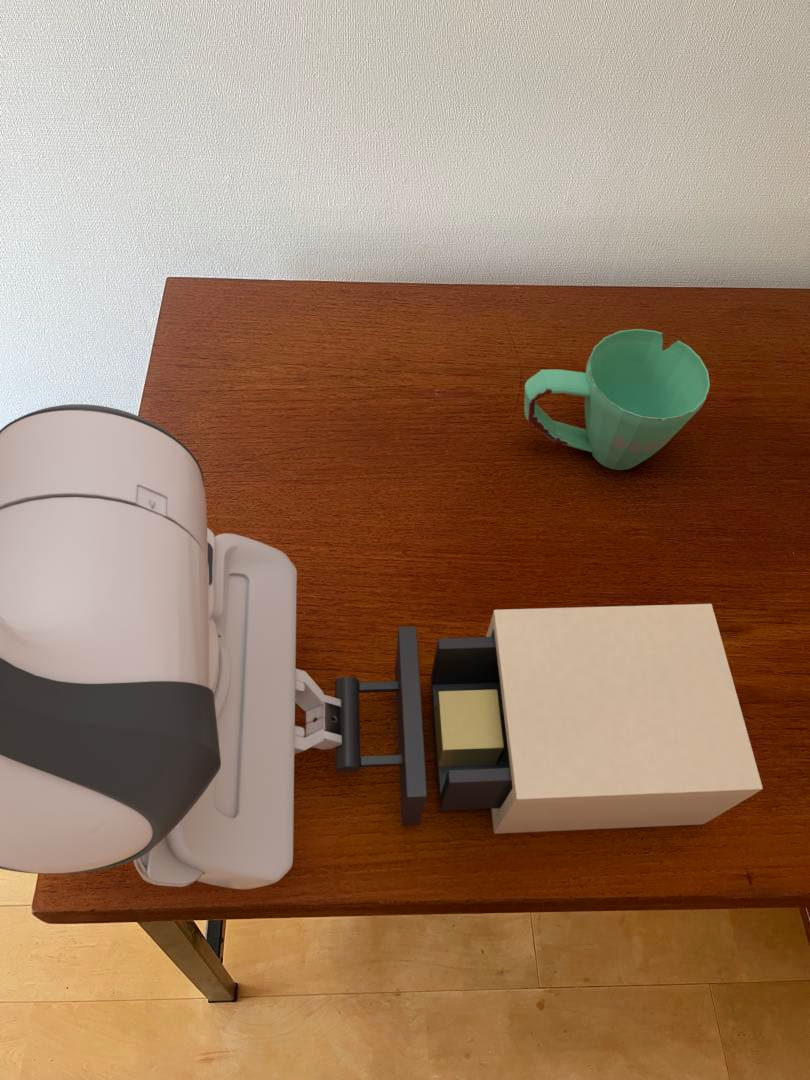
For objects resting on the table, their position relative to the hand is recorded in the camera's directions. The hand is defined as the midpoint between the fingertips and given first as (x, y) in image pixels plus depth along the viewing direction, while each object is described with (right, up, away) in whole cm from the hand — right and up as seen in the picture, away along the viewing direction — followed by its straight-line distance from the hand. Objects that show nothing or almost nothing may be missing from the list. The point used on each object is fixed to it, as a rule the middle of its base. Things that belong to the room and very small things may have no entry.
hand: (335, 725), depth 52 cm
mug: (+21, +20, +21) cm, 36 cm away
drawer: (+9, -2, +5) cm, 10 cm away
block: (+9, -2, +4) cm, 10 cm away
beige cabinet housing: (+18, -3, +7) cm, 19 cm away
